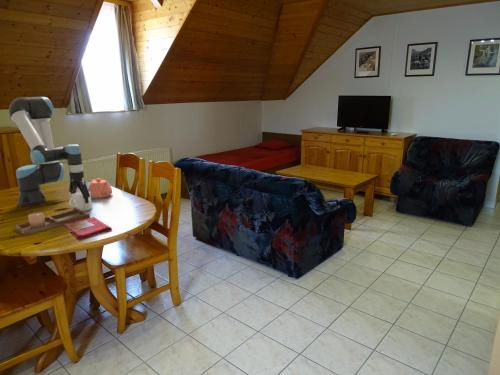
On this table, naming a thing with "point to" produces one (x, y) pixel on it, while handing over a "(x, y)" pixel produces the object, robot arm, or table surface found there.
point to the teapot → (99, 188)
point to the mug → (80, 201)
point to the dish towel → (89, 228)
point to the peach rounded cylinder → (36, 220)
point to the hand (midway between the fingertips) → (81, 206)
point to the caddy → (54, 221)
